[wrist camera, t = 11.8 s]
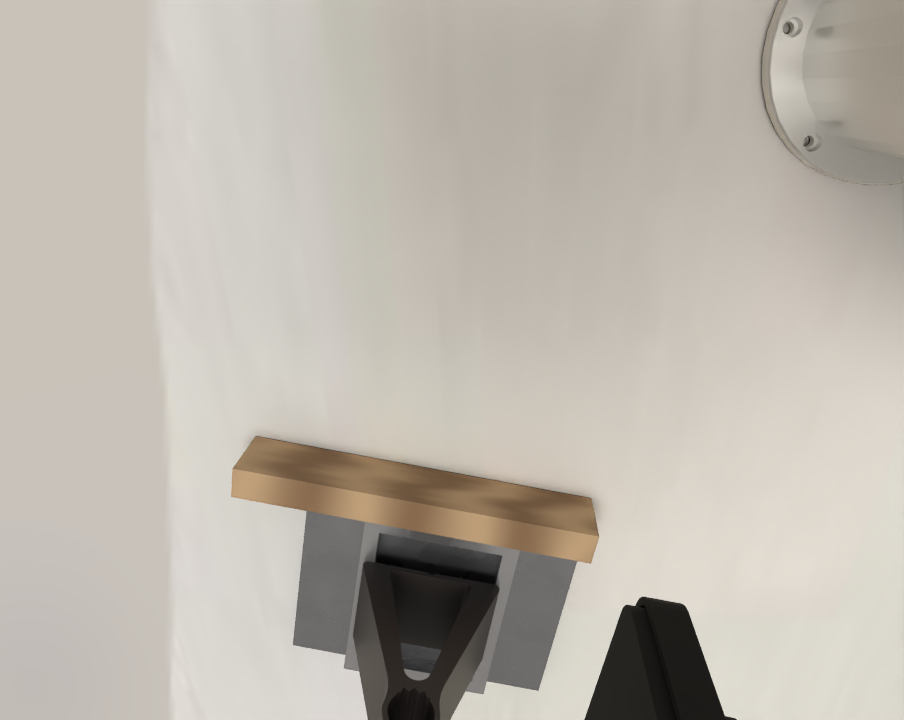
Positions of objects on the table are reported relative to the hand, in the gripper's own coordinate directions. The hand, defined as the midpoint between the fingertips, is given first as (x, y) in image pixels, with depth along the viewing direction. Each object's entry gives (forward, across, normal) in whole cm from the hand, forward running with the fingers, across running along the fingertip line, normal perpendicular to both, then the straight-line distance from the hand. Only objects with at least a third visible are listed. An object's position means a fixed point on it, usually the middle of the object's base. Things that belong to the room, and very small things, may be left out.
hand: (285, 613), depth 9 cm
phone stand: (+28, -3, +25) cm, 38 cm away
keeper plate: (+30, -3, +26) cm, 40 cm away
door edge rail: (+30, -1, +17) cm, 35 cm away
